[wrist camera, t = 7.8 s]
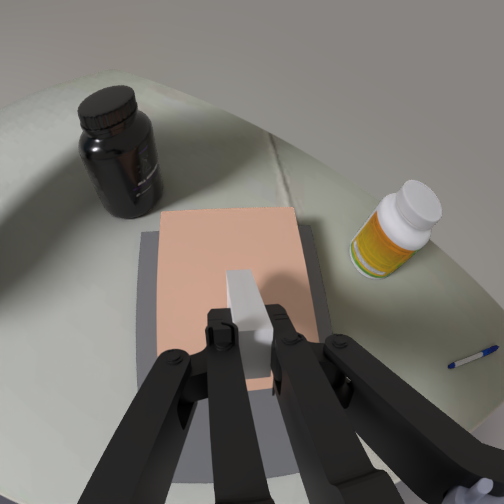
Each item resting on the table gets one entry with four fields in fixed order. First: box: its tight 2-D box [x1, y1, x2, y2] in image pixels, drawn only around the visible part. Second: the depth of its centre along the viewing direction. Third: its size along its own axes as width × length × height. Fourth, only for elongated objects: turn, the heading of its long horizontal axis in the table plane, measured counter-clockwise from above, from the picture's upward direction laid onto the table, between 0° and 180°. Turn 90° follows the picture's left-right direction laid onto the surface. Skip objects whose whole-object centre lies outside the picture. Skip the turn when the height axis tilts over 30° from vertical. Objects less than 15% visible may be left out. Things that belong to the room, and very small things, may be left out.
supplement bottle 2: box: [349, 180, 442, 279], centre depth 22 cm, size 5×5×10 cm
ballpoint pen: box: [448, 345, 499, 368], centre depth 22 cm, size 10×1×1 cm, turn 94°
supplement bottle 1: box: [78, 85, 163, 219], centre depth 22 cm, size 7×7×12 cm
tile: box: [157, 207, 319, 391], centre depth 21 cm, size 3×11×14 cm
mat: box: [136, 225, 333, 483], centre depth 21 cm, size 22×16×1 cm
